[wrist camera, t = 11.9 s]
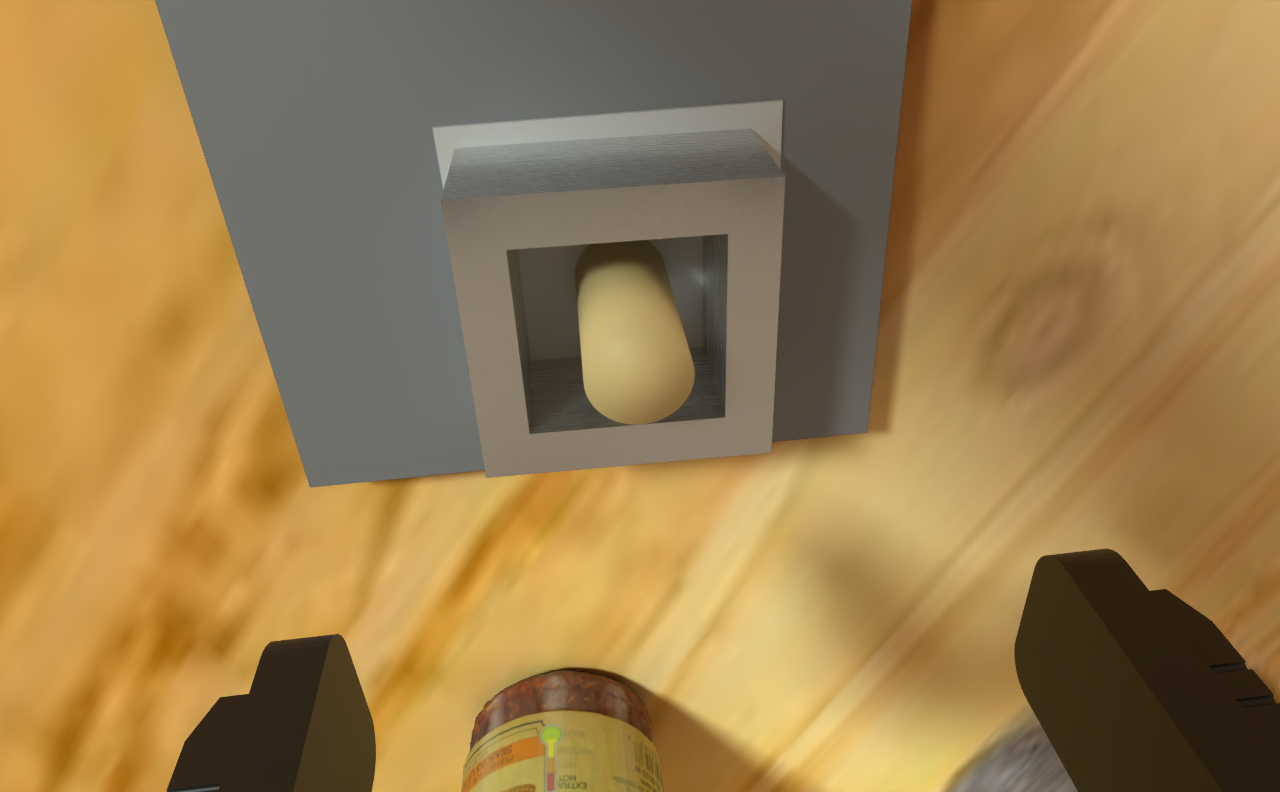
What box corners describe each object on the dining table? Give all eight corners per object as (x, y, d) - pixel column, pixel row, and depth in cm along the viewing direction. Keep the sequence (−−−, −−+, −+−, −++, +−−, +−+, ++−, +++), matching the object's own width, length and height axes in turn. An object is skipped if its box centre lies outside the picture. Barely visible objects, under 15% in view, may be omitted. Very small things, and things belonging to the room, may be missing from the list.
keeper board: (86, -335, 15) (-151, -422, 10) (919, -377, 15) (1104, -477, 10) (322, 452, 23) (262, 623, 18) (849, 401, 24) (932, 552, 19)
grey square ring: (454, 148, 18) (440, 200, 15) (751, 128, 18) (785, 176, 16) (492, 400, 21) (486, 477, 19) (743, 379, 21) (770, 452, 19)
